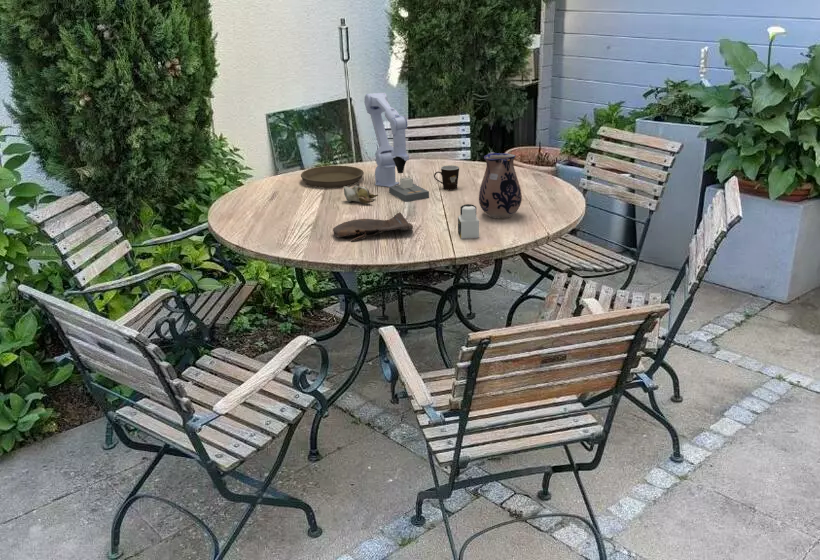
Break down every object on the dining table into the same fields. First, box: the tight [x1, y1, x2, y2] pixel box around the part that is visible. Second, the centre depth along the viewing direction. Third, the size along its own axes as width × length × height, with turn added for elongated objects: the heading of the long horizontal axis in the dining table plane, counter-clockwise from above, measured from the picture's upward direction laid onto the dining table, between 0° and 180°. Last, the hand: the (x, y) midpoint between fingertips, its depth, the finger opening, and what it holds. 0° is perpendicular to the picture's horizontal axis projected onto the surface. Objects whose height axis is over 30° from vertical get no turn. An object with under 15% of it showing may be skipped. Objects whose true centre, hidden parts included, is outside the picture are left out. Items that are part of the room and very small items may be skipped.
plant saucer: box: [300, 165, 364, 189], centre depth 357 cm, size 31×31×5 cm
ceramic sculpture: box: [342, 183, 379, 204], centre depth 321 cm, size 11×9×15 cm
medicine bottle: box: [457, 203, 480, 240], centre depth 275 cm, size 7×7×12 cm
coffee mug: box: [433, 164, 460, 191], centre depth 337 cm, size 12×9×10 cm
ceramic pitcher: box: [478, 151, 523, 219], centre depth 295 cm, size 18×21×25 cm
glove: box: [332, 212, 414, 243], centre depth 283 cm, size 32×20×5 cm, turn 100°
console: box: [388, 183, 430, 203], centre depth 330 cm, size 17×12×3 cm
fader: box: [399, 177, 414, 189], centre depth 330 cm, size 3×5×4 cm, turn 117°
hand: (400, 172), depth 333 cm, fingers closed
